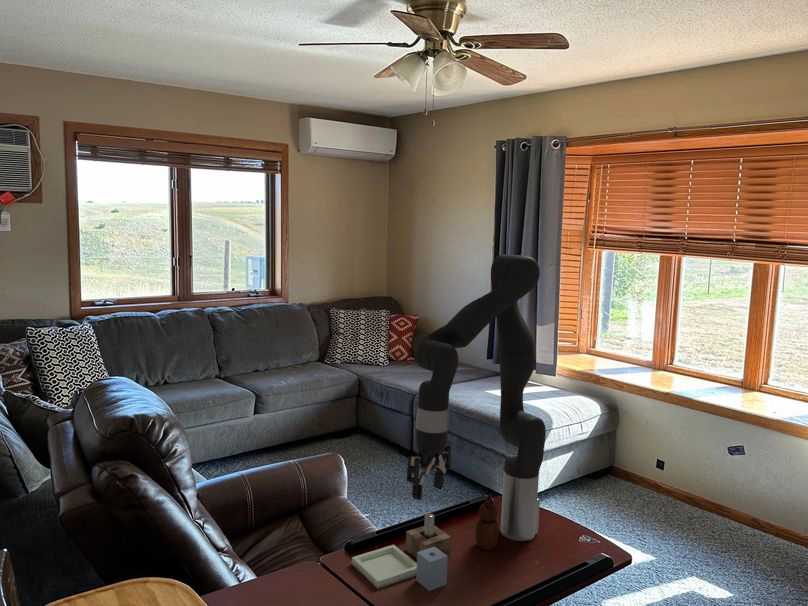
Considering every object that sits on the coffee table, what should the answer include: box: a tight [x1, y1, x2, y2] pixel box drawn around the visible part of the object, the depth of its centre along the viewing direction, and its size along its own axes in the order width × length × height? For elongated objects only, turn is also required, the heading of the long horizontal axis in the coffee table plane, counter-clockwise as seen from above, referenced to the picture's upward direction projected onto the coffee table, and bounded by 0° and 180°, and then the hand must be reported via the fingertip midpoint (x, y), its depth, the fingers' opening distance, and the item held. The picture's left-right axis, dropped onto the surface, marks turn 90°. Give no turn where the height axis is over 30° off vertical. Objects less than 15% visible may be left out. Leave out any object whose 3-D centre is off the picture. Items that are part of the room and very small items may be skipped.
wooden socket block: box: [405, 524, 452, 560], centre depth 160 cm, size 8×8×5 cm
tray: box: [351, 544, 417, 590], centre depth 153 cm, size 12×12×2 cm
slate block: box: [415, 547, 449, 592], centre depth 147 cm, size 5×5×7 cm
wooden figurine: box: [475, 492, 499, 551], centre depth 164 cm, size 7×6×15 cm
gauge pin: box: [423, 513, 435, 539], centre depth 160 cm, size 2×2×10 cm
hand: (427, 493), depth 150 cm, fingers open, 8 cm apart
